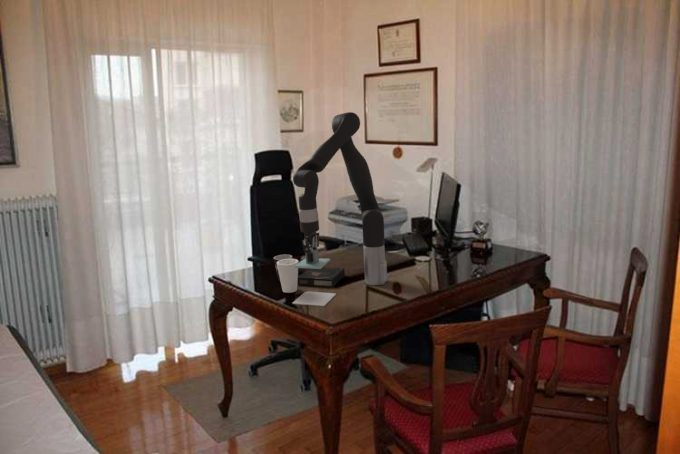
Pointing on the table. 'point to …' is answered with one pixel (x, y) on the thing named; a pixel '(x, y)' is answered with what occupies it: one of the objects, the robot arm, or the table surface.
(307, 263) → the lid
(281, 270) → the foam cup
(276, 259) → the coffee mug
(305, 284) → the portable cd player
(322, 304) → the tray
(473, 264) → the table surface
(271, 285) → the table surface
